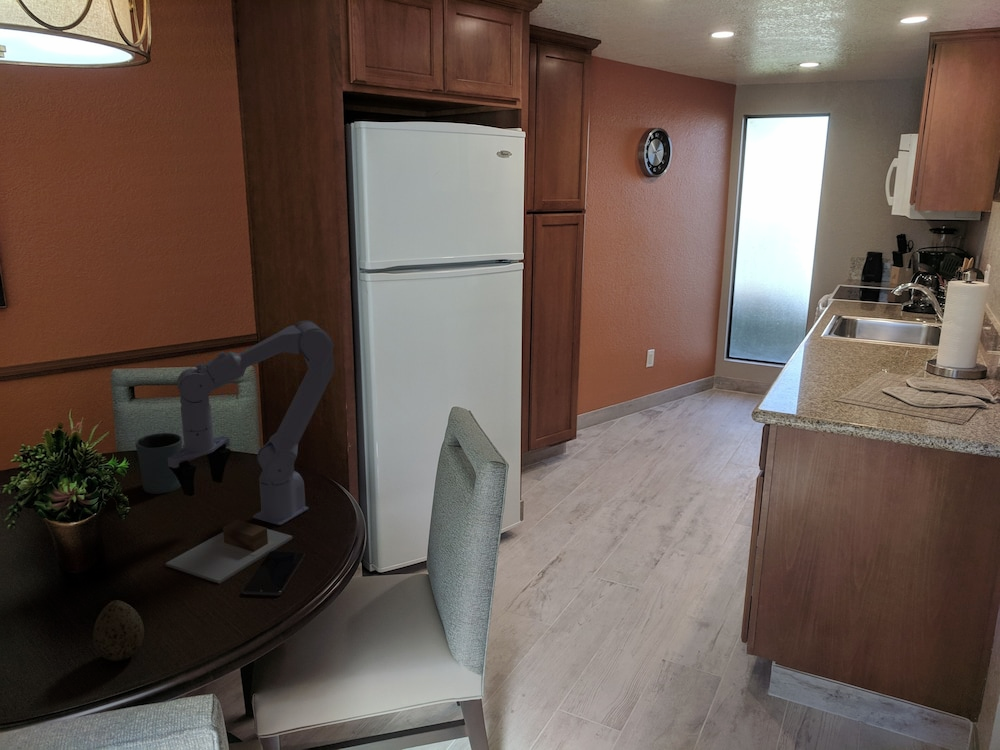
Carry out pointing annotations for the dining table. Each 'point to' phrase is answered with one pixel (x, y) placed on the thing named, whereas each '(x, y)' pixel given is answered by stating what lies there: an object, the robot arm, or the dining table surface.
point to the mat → (223, 557)
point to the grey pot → (158, 461)
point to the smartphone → (273, 573)
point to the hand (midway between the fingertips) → (203, 488)
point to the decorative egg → (118, 631)
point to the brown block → (245, 535)
